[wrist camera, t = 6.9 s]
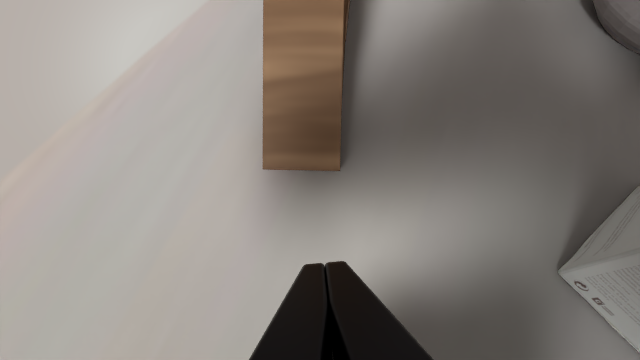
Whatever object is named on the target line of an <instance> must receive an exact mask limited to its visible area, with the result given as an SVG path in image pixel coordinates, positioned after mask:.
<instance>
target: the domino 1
mask: <svg viewBox="0 0 640 360" xmlns="http://www.w3.org/2000/svg"><path fill="white" fill-rule="evenodd" d="M343 17H344V0H263V169H270V170H320V171H340V150H341V106H342V61H343Z"/></svg>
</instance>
